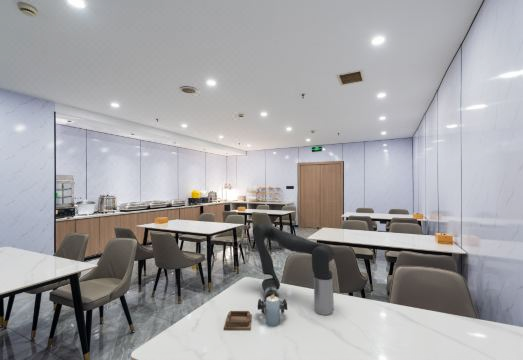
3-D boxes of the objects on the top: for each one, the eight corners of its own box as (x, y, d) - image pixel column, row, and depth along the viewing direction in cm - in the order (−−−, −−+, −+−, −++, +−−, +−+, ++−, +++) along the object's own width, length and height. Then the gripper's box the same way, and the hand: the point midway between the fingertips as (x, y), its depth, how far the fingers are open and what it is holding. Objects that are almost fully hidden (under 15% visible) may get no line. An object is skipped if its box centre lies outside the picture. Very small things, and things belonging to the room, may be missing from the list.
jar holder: (227, 316, 121) (227, 310, 121) (252, 316, 121) (252, 310, 121) (223, 330, 109) (223, 323, 109) (250, 330, 109) (250, 323, 109)
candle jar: (273, 317, 119) (273, 291, 120) (282, 323, 114) (282, 295, 115) (263, 322, 115) (263, 294, 115) (272, 328, 110) (272, 299, 111)
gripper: (258, 289, 129) (257, 303, 113) (285, 289, 129) (288, 303, 113) (258, 303, 129) (257, 320, 113) (285, 303, 129) (288, 320, 113)
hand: (272, 311), depth 113 cm, fingers open, 8 cm apart
